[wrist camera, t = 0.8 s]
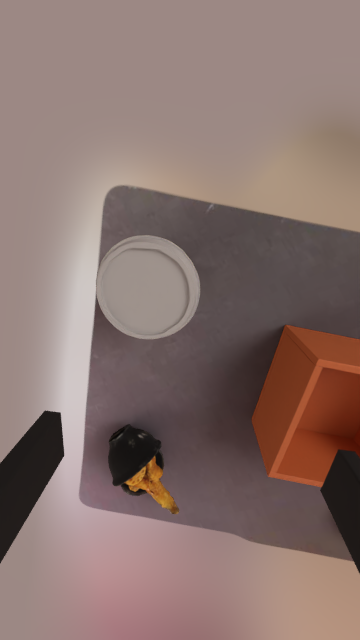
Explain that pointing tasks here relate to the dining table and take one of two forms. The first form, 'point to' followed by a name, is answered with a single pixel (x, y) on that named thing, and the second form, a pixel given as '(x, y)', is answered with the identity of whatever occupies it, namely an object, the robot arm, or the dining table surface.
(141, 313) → the disposable coffee cup
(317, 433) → the open box
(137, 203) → the dining table surface
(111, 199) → the dining table surface
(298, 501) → the dining table surface
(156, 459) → the fried shrimp in bowl
